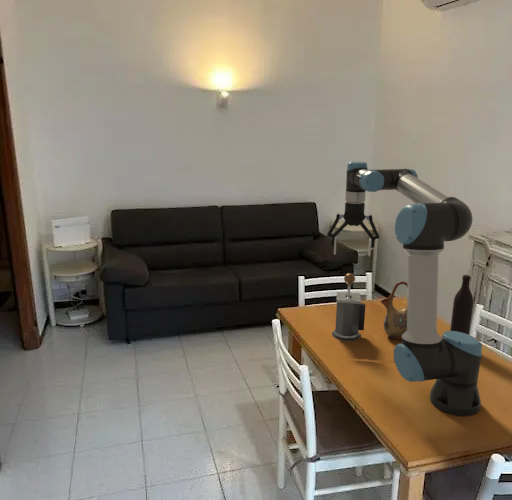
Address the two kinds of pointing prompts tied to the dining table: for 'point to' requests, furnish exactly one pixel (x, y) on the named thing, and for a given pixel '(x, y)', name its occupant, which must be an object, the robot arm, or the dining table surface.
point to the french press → (349, 316)
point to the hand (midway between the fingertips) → (351, 254)
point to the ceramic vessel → (395, 316)
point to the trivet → (346, 340)
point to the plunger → (349, 281)
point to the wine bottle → (462, 308)
